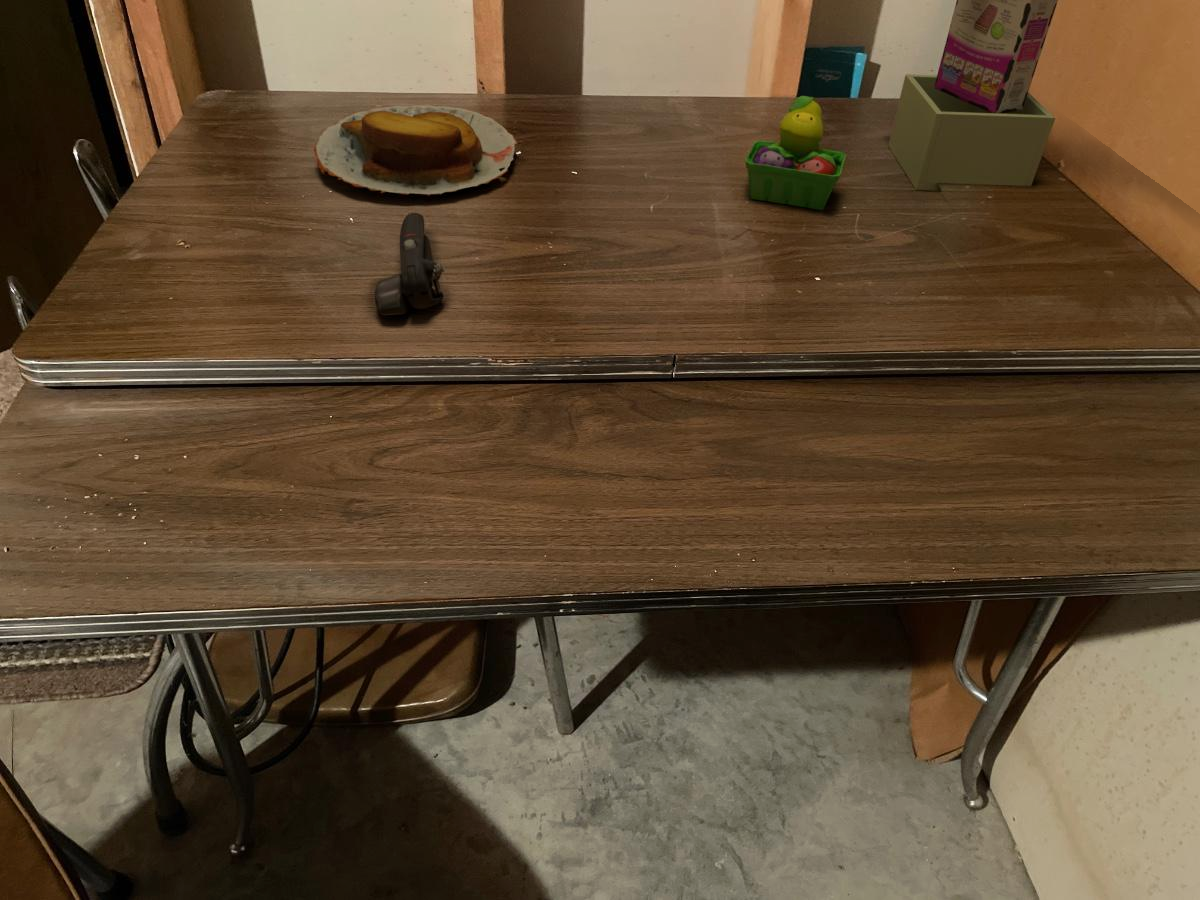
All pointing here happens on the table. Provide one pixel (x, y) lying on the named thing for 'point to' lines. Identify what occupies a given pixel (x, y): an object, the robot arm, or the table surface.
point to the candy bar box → (994, 51)
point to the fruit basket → (795, 161)
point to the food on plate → (415, 149)
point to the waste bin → (965, 139)
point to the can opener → (411, 273)
